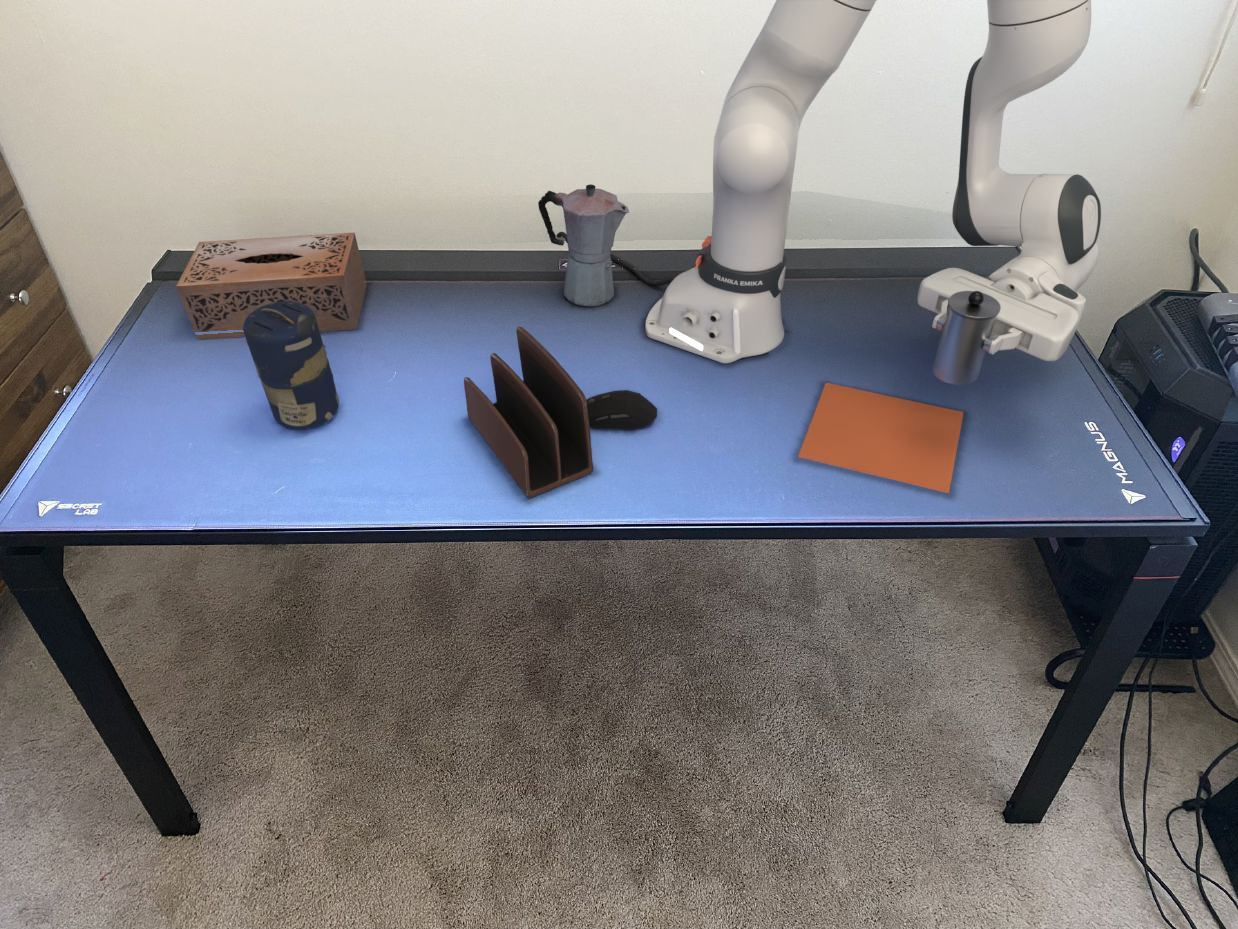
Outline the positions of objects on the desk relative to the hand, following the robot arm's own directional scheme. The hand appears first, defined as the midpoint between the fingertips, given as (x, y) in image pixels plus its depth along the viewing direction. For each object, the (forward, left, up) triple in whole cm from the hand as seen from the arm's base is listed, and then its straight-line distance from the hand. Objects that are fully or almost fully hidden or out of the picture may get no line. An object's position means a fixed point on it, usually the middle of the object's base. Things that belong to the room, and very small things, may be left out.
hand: (962, 336), depth 113 cm
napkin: (-7, -2, -17) cm, 18 cm away
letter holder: (-52, -22, -17) cm, 59 cm away
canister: (-86, -27, -17) cm, 91 cm away
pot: (0, +1, -6) cm, 6 cm away
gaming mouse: (-45, -12, -17) cm, 49 cm away
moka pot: (-61, +18, -17) cm, 66 cm away
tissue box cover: (-107, -5, -17) cm, 108 cm away
